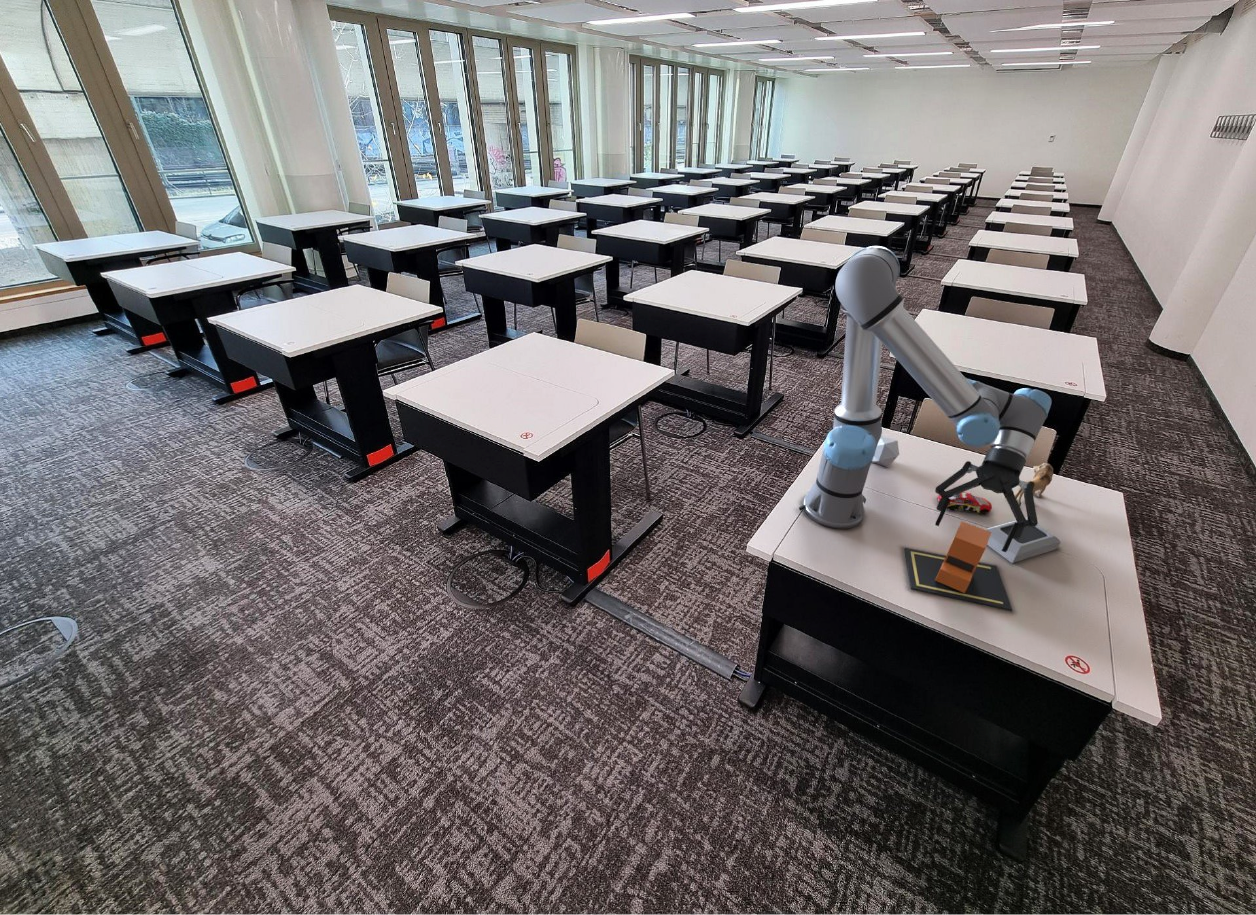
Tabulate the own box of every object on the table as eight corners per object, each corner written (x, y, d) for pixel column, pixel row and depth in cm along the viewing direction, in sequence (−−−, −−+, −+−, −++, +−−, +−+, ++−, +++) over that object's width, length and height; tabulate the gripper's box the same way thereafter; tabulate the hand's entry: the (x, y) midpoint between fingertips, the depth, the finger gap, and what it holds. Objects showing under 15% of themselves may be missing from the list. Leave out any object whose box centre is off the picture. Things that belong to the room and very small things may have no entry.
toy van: (963, 596, 117) (982, 556, 111) (933, 583, 120) (951, 544, 114) (972, 571, 124) (991, 532, 117) (944, 559, 127) (961, 520, 120)
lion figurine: (1025, 483, 154) (1038, 457, 149) (1046, 491, 151) (1060, 465, 146) (1007, 504, 146) (1021, 477, 141) (1029, 513, 143) (1044, 486, 138)
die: (899, 462, 164) (890, 431, 165) (906, 464, 156) (897, 431, 156) (870, 469, 167) (862, 438, 167) (875, 471, 158) (866, 438, 158)
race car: (986, 504, 146) (992, 493, 144) (993, 517, 141) (998, 505, 139) (934, 497, 148) (939, 486, 146) (939, 509, 144) (944, 497, 142)
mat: (910, 589, 120) (911, 587, 119) (904, 548, 131) (904, 547, 131) (1011, 611, 114) (1012, 609, 114) (995, 566, 126) (996, 565, 125)
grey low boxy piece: (983, 526, 132) (1027, 514, 136) (977, 537, 134) (1021, 525, 138) (1018, 551, 125) (1063, 537, 129) (1012, 563, 127) (1056, 548, 131)
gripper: (1069, 478, 118) (1031, 564, 116) (947, 440, 131) (911, 517, 129) (1078, 469, 111) (1038, 560, 110) (949, 430, 125) (911, 511, 123)
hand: (969, 537), depth 119 cm, fingers open, 13 cm apart
